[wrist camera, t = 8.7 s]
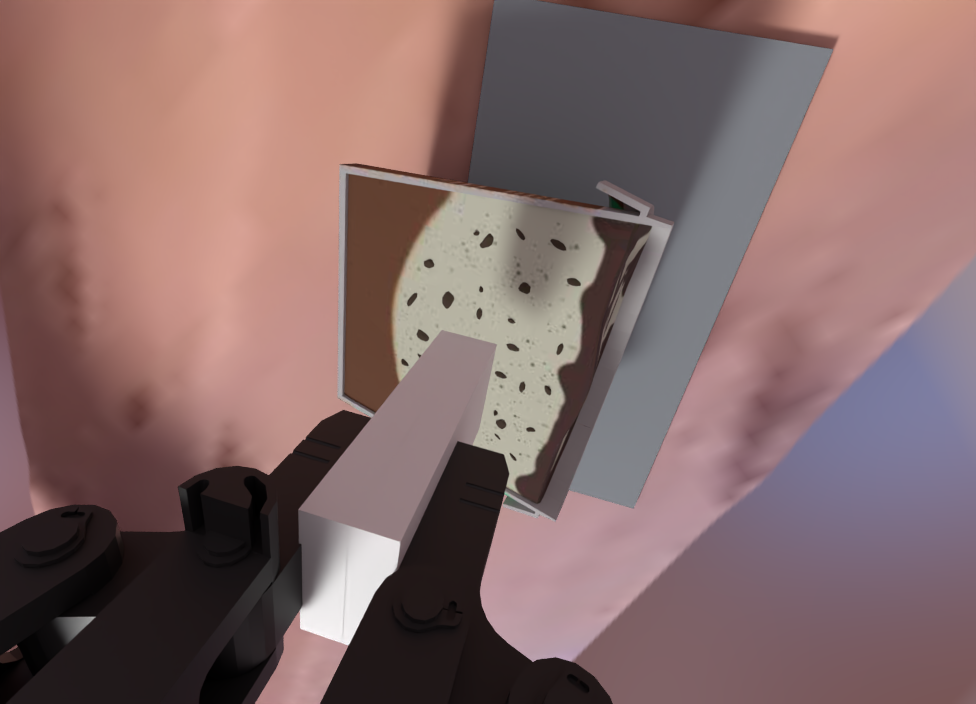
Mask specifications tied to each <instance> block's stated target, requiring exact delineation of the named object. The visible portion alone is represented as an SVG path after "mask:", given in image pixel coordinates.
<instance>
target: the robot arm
mask: <svg viewBox="0 0 976 704" xmlns="http://www.w3.org/2000/svg"><path fill="white" fill-rule="evenodd" d="M496 346H497V344H494V343H490V342H486V341H483V340H479V339H475V338H471V337H467V336H463V335H459V334H456V333H452V332H448V331H444V330H441V332H440V333H439V334H438V335H437V337H436V338H435V339H434V340H433V342H432V343H431V344H430V345H429V347H428V348H427V349H426V350H425V352H424V353H423V354H422V355H421V357H420V358H419V359H418V360H417V362H416V363H415V364H414V365H413V367H412V368H411V369H410V370H409V372H408V373H407V374H406V375H405V377H404V378H403V379H402V380H401V382H400V383H399V384H398V385H397V387H396V388H395V389H394V391H393V392H392V393H391V394H390V396H389V397H388V398H387V399H386V401H385V402H384V403H383V404H382V406H381V407H380V408H379V409H378V411H377V412H376V413H375V414H374V416H373V417H372V418H370V417H366V416H363V415H359V414H356V413H352V412H349V411H345V410H342V411H340V412H338V413H336V414H334V415H332V416H330V417H328V418H326V419H324V420H322V421H321V422H320V423H319V424H318V425H317V426H316V427H315V428H314V429H313V430H312V431H311V432H310V433H309V434H308V435H307V436H306V439H305V440H303V441H302V442H301V443H300V444H299V445H298V446H297V447H296V448H295V449H294V451H293V453H292V454H291V453H290V454H289V455H288V456H287V457H286V458H285V459H284V460H283V461H282V462H281V463H280V464H279V466H278V467H277V468H276V469H275V470H274V471H273V472H272V473H271V474H270V475H267V474H265V473H263V472H261V471H259V470H257V469H255V468H248V467H241V466H232V467H223V468H216V469H213V470H210V471H207V472H204V473H201V474H198V475H196V476H194V477H192V478H191V479H189V480H188V481H186V482H185V483H183V484H181V485H180V486H178V490H179V496H180V501H181V507H182V513H183V518H184V524H185V531H180V532H121V531H120V530H119V527H118V523H117V521H116V519H115V518H114V516H113V515H112V513H111V512H110V511H109V510H106V509H104V508H101V507H98V506H96V505H70V506H65V507H60V508H55V509H51V510H48V511H45V512H43V513H40V514H38V515H35V516H33V517H31V518H28V519H26V520H24V521H22V522H20V523H18V524H16V525H14V526H12V527H10V528H8V529H6V530H4V531H2V532H0V704H255V702H256V701H257V699H258V697H259V696H260V694H261V692H262V691H263V689H264V687H265V686H266V684H267V682H268V681H269V679H270V677H271V676H272V674H273V672H274V671H275V669H276V667H277V665H278V663H279V660H280V658H281V655H282V653H283V650H284V643H283V635H284V634H285V632H286V631H287V629H288V628H289V626H290V624H291V623H292V621H293V620H294V618H295V616H296V615H297V613H298V612H299V610H300V629H303V630H306V631H308V632H311V633H314V634H317V635H320V636H323V637H326V638H329V639H331V640H334V641H337V642H340V643H343V644H346V645H349V646H348V648H347V650H346V652H345V654H344V656H343V658H342V660H341V662H340V664H339V666H338V668H337V670H336V672H335V674H334V676H333V678H332V681H331V683H330V685H329V687H328V689H327V691H326V693H325V695H324V697H323V699H322V701H321V703H320V704H613V703H612V701H611V698H610V696H609V695H608V694H607V692H606V691H605V690H604V689H603V687H602V686H601V685H600V683H599V682H598V681H597V679H596V678H595V677H594V676H593V675H591V674H590V673H589V672H587V671H586V670H584V669H583V668H582V667H580V666H579V665H577V664H576V663H573V662H570V661H566V660H563V659H560V658H556V657H555V658H547V659H540V660H536V661H534V662H532V661H531V660H530V659H528V658H527V657H526V656H524V655H523V654H522V653H520V652H519V651H518V650H516V649H515V648H514V647H512V646H511V645H510V644H508V643H507V642H506V641H505V640H504V639H503V638H502V637H501V636H500V635H498V634H497V633H496V632H495V630H494V629H493V627H492V626H491V624H490V623H489V621H488V620H487V618H486V615H485V613H484V610H483V608H482V605H481V597H480V586H481V581H482V577H483V573H484V569H485V566H486V562H487V558H488V554H489V551H490V547H491V543H492V539H493V536H494V532H495V528H496V524H497V520H498V516H499V513H500V509H501V505H502V501H503V497H504V493H505V489H506V486H507V482H508V478H509V470H508V466H507V463H506V459H505V456H504V454H501V453H498V452H494V451H491V450H487V449H484V448H480V447H477V446H473V443H474V440H475V438H476V435H477V433H478V431H479V428H480V423H481V418H482V413H483V409H484V404H485V399H486V394H487V389H488V385H489V380H490V375H491V370H492V365H493V360H494V356H495V351H496ZM15 645H17V646H18V647H17V648H16V649H14V650H12V651H10V652H6V651H8V650H9V649H11V648H12V647H14V646H15ZM5 652H6V653H5Z"/></svg>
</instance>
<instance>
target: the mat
mask: <svg viewBox="0 0 976 704" xmlns="http://www.w3.org/2000/svg"><path fill="white" fill-rule="evenodd" d="M832 51H833V49H828V48H822V47H816V46H810V45H804V44H798V43H791V42H785V41H779V40H773V39H767V38H761V37H755V36H749V35H743V34H737V33H731V32H725V31H719V30H713V29H707V28H701V27H695V26H689V25H683V24H677V23H671V22H664V21H658V20H652V19H646V18H640V17H634V16H628V15H622V14H616V13H610V12H604V11H598V10H592V9H586V8H580V7H574V6H568V5H562V4H556V3H550V2H544V1H538V0H494V5H493V12H492V19H491V26H490V33H489V39H488V46H487V53H486V60H485V67H484V74H483V81H482V88H481V95H480V102H479V108H478V115H477V122H476V129H475V136H474V143H473V150H472V157H471V164H470V171H469V177H468V183H472V184H477V185H483V186H489V187H495V188H500V189H506V190H512V191H518V192H524V193H529V194H535V195H541V196H547V197H552V198H558V199H564V200H570V201H575V202H581V203H587V204H593V205H599V206H604V207H609V196H608V194H607V193H605V192H603V191H601V190H599V189H597V188H596V186H597V184H598V182H600V181H604V180H606V181H608V182H610V183H612V184H614V185H616V186H617V187H619V188H621V189H623V190H625V191H627V192H629V193H631V194H633V195H635V196H637V197H639V198H641V199H643V200H645V201H646V202H648V203H650V204H652V205H654V215H655V216H658V217H661V218H664V219H667V220H670V221H673V222H674V225H673V228H672V231H671V233H670V236H669V239H668V241H667V244H666V247H665V249H664V252H663V254H662V257H661V259H660V262H659V265H658V267H657V270H656V272H655V275H654V277H653V280H652V283H651V285H650V288H649V290H648V293H647V295H646V298H645V300H644V303H643V305H642V308H641V310H640V313H639V316H638V318H637V321H636V323H635V326H634V328H633V331H632V333H631V336H630V338H629V341H628V343H627V346H626V348H625V351H624V353H623V356H622V358H621V361H620V363H619V366H618V368H617V371H616V373H615V376H614V378H613V381H612V383H611V386H610V389H609V391H608V394H607V396H606V399H605V401H604V404H603V406H602V409H601V411H600V414H599V416H598V418H597V421H596V423H595V426H594V428H593V431H592V433H591V436H590V438H589V441H588V443H587V446H586V448H585V451H584V453H583V456H582V458H581V461H580V463H579V466H578V468H577V471H576V473H575V476H574V478H573V481H572V483H571V486H570V488H569V490H571V491H574V492H578V493H581V494H585V495H588V496H592V497H595V498H598V499H602V500H605V501H609V502H612V503H616V504H619V505H623V506H626V507H630V508H633V509H634V506H635V504H636V502H637V499H638V497H639V495H640V492H641V490H642V488H643V486H644V483H645V481H646V479H647V476H648V474H649V472H650V469H651V467H652V465H653V463H654V460H655V458H656V456H657V453H658V451H659V449H660V446H661V444H662V442H663V440H664V437H665V435H666V433H667V430H668V428H669V426H670V424H671V421H672V419H673V417H674V414H675V412H676V410H677V407H678V405H679V403H680V401H681V398H682V396H683V394H684V391H685V389H686V387H687V384H688V382H689V380H690V378H691V375H692V373H693V371H694V368H695V366H696V364H697V361H698V359H699V357H700V355H701V352H702V350H703V348H704V345H705V343H706V341H707V338H708V336H709V334H710V332H711V329H712V327H713V325H714V322H715V320H716V318H717V316H718V313H719V311H720V309H721V306H722V304H723V302H724V299H725V297H726V295H727V293H728V290H729V288H730V286H731V283H732V281H733V279H734V276H735V274H736V272H737V270H738V267H739V265H740V263H741V260H742V258H743V256H744V253H745V251H746V249H747V247H748V244H749V242H750V240H751V237H752V235H753V233H754V230H755V228H756V226H757V224H758V221H759V219H760V217H761V214H762V212H763V210H764V208H765V205H766V203H767V201H768V198H769V196H770V194H771V191H772V189H773V187H774V185H775V182H776V180H777V178H778V175H779V173H780V171H781V168H782V166H783V164H784V162H785V159H786V157H787V155H788V152H789V150H790V148H791V145H792V143H793V141H794V139H795V136H796V134H797V132H798V129H799V127H800V125H801V123H802V120H803V118H804V116H805V113H806V111H807V109H808V106H809V104H810V102H811V100H812V97H813V95H814V93H815V90H816V88H817V86H818V83H819V81H820V79H821V77H822V74H823V72H824V70H825V67H826V65H827V63H828V60H829V58H830V56H831V54H832Z"/></svg>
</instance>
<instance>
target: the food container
mask: <svg viewBox="0 0 976 704" xmlns="http://www.w3.org/2000/svg"><path fill="white" fill-rule="evenodd" d="M596 188H597V189H599V190H601V191H603V192H605V193H607V194H608V196H609V207H604V206H599V205H593V204H587V203H581V202H575V201H570V200H564V199H558V198H552V197H547V196H541V195H535V194H529V193H524V192H518V191H512V190H506V189H500V188H495V187H489V186H483V185H477V184H472V183H466V182H460V181H454V180H449V179H443V178H437V177H431V176H425V175H420V174H414V173H408V172H402V171H397V170H391V169H385V168H379V167H374V166H368V165H362V164H340V187H339V300H338V399H340V400H342V401H344V402H345V403H347V404H349V405H351V406H352V407H354V408H356V409H358V410H359V411H361V412H363V413H364V414H366V415H368V416H370V417H371V418H372V417H373V416H374V414H375V413H376V412H377V411H378V409H379V408H380V407H381V406H382V404H383V403H384V402H385V401H386V399H387V398H388V397H389V396H390V394H391V393H392V392H393V391H394V389H395V388H396V387H397V385H398V384H399V383H400V382H401V380H402V379H403V378H404V377H405V375H406V374H407V373H408V372H409V370H410V369H411V368H412V367H413V365H414V364H415V363H416V362H417V360H418V359H419V358H420V357H421V355H422V354H423V353H424V352H425V350H426V349H427V348H428V347H429V345H430V344H431V343H432V342H433V340H434V339H435V338H436V337H437V335H438V334H439V333H440V332H441V330H444V331H448V332H452V333H456V334H459V335H463V336H467V337H471V338H475V339H479V340H483V341H486V342H490V343H494V344H497V346H496V351H495V356H494V360H493V365H492V370H491V375H490V380H489V385H488V389H487V394H486V399H485V404H484V409H483V413H482V418H481V423H480V428H479V431H478V433H477V435H476V438H475V440H474V443H473V446H477V447H480V448H484V449H487V450H491V451H494V452H498V453H501V454H504V456H505V459H506V463H507V466H508V470H509V478H508V482H507V486H506V489H505V493H504V494H505V495H507V498H506V499H505V501H504V503H503V507H505V508H508V509H511V510H514V511H517V512H520V513H523V514H526V515H529V516H532V517H535V518H538V517H539V515H541V516H544V517H546V518H548V519H550V520H553V521H555V522H556V519H557V517H558V515H559V512H560V510H561V508H562V505H563V503H564V500H565V498H566V496H567V493H568V491H569V488H570V486H571V483H572V481H573V478H574V476H575V473H576V471H577V468H578V466H579V463H580V461H581V458H582V456H583V453H584V451H585V448H586V446H587V443H588V441H589V438H590V436H591V433H592V431H593V428H594V426H595V423H596V421H597V418H598V416H599V414H600V411H601V409H602V406H603V404H604V401H605V399H606V396H607V394H608V391H609V389H610V386H611V383H612V381H613V378H614V376H615V373H616V371H617V368H618V366H619V363H620V361H621V358H622V356H623V353H624V351H625V348H626V346H627V343H628V341H629V338H630V336H631V333H632V331H633V328H634V326H635V323H636V321H637V318H638V316H639V313H640V310H641V308H642V305H643V303H644V300H645V298H646V295H647V293H648V290H649V288H650V285H651V283H652V280H653V277H654V275H655V272H656V270H657V267H658V265H659V262H660V259H661V257H662V254H663V252H664V249H665V247H666V244H667V241H668V239H669V236H670V233H671V231H672V228H673V225H674V222H673V221H670V220H667V219H664V218H661V217H658V216H655V215H654V205H652V204H650V203H648V202H646V201H645V200H643V199H641V198H639V197H637V196H635V195H633V194H631V193H629V192H627V191H625V190H623V189H621V188H619V187H617V186H616V185H614V184H612V183H610V182H608V181H606V180H604V181H600V182H598V184H597V186H596Z"/></svg>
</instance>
